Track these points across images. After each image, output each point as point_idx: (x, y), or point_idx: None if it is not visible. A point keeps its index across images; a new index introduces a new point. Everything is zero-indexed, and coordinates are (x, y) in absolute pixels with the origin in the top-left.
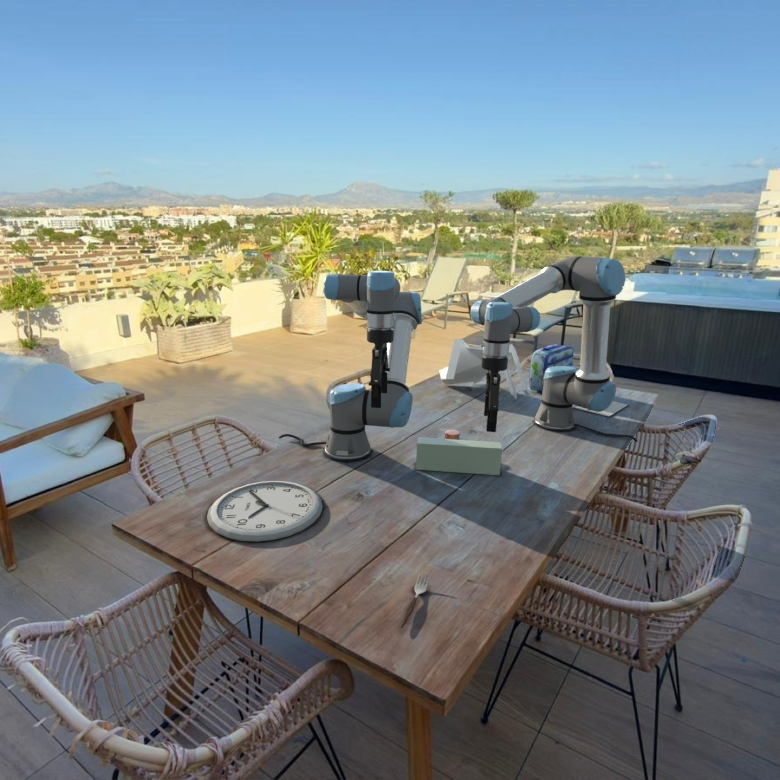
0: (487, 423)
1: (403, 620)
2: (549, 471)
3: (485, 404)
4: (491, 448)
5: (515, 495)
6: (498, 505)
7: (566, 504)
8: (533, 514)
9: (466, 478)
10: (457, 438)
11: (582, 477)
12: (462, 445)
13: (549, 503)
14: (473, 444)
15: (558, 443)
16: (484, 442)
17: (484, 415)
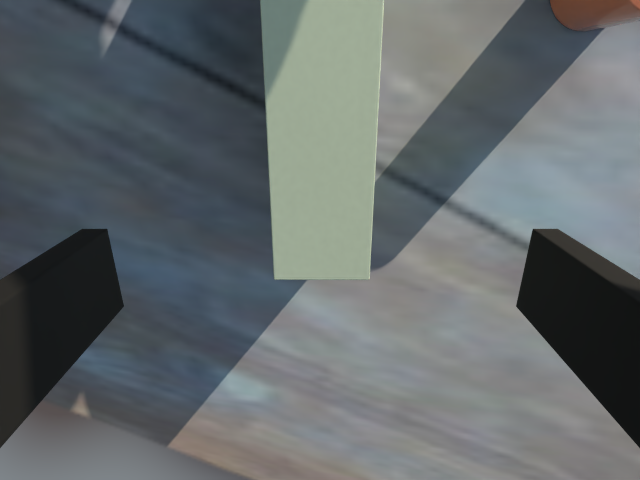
0: (24, 268)
1: None
2: (352, 392)
3: (618, 298)
4: (271, 221)
5: (130, 265)
6: (27, 199)
7: (123, 402)
8: None
9: (226, 71)
10: (606, 5)
11: (321, 469)
12: (273, 19)
13: (111, 360)
14: (307, 107)
15: (600, 452)
16: (354, 184)
17: (532, 234)
